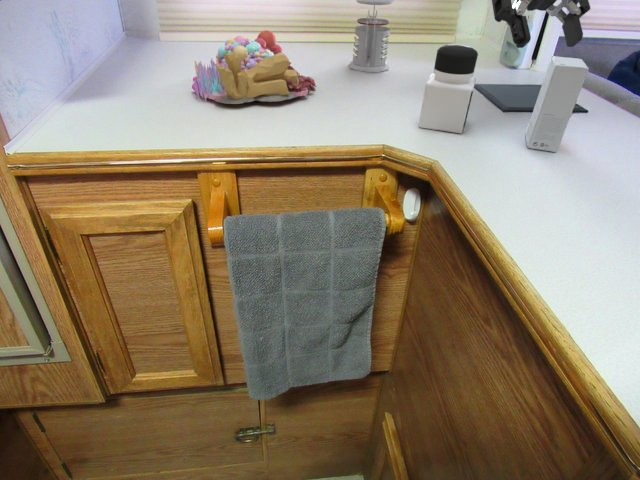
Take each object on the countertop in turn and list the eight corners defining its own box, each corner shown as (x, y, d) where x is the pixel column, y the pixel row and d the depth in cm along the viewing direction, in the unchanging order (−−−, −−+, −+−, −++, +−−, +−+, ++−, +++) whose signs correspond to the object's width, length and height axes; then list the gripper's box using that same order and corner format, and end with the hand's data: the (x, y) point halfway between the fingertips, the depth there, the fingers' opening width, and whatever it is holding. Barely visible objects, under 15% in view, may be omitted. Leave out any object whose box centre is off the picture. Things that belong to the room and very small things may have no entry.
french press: (390, 62, 103) (405, -63, 89) (388, 75, 94) (404, -63, 79) (350, 59, 105) (359, -65, 90) (344, 72, 95) (352, -65, 81)
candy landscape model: (335, 97, 80) (338, 45, 75) (216, 117, 70) (209, 58, 65) (277, 66, 98) (276, 22, 92) (175, 78, 88) (167, 29, 82)
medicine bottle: (462, 134, 67) (481, 54, 60) (417, 127, 69) (431, 48, 62) (466, 120, 73) (484, 44, 66) (424, 113, 74) (437, 40, 67)
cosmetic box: (557, 153, 62) (590, 68, 55) (526, 148, 63) (555, 64, 56) (553, 138, 67) (583, 58, 60) (524, 134, 68) (550, 55, 61)
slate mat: (544, 86, 90) (545, 84, 90) (587, 112, 78) (588, 109, 77) (472, 85, 89) (472, 83, 89) (503, 112, 77) (503, 109, 76)
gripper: (499, -80, 58) (523, 28, 56) (586, -76, 61) (613, 26, 59) (470, -36, 65) (491, 60, 63) (549, -35, 68) (572, 58, 66)
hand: (550, 44), depth 61 cm, fingers open, 8 cm apart
